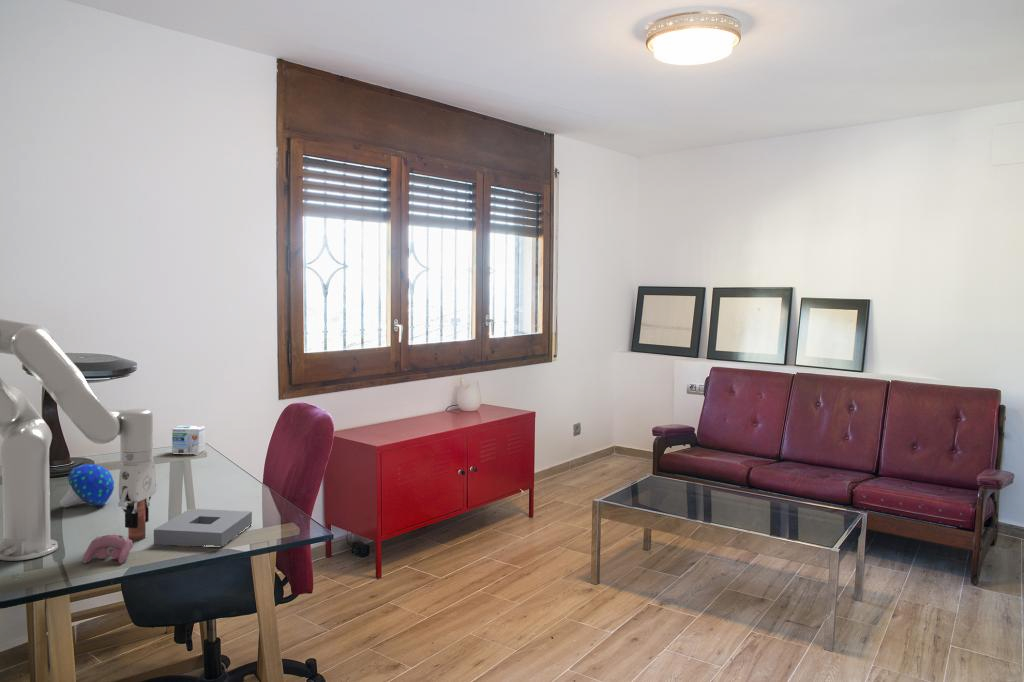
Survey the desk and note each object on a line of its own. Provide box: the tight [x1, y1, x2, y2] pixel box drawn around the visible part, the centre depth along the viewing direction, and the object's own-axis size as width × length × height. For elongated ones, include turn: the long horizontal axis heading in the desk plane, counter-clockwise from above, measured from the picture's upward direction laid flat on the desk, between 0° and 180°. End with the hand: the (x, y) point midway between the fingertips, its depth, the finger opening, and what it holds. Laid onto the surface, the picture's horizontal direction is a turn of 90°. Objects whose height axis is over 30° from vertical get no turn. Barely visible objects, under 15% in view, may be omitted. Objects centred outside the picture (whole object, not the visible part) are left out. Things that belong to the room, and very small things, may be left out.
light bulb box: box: [171, 425, 206, 454], centre depth 279 cm, size 11×7×11 cm, turn 95°
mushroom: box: [59, 463, 115, 508], centre depth 208 cm, size 14×14×15 cm
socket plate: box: [153, 508, 253, 548], centre depth 187 cm, size 18×18×4 cm
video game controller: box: [82, 534, 134, 565], centre depth 168 cm, size 10×5×7 cm, turn 92°
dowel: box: [127, 499, 147, 541], centre depth 183 cm, size 4×4×12 cm
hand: (136, 523), depth 183 cm, fingers closed on dowel, 4 cm apart
